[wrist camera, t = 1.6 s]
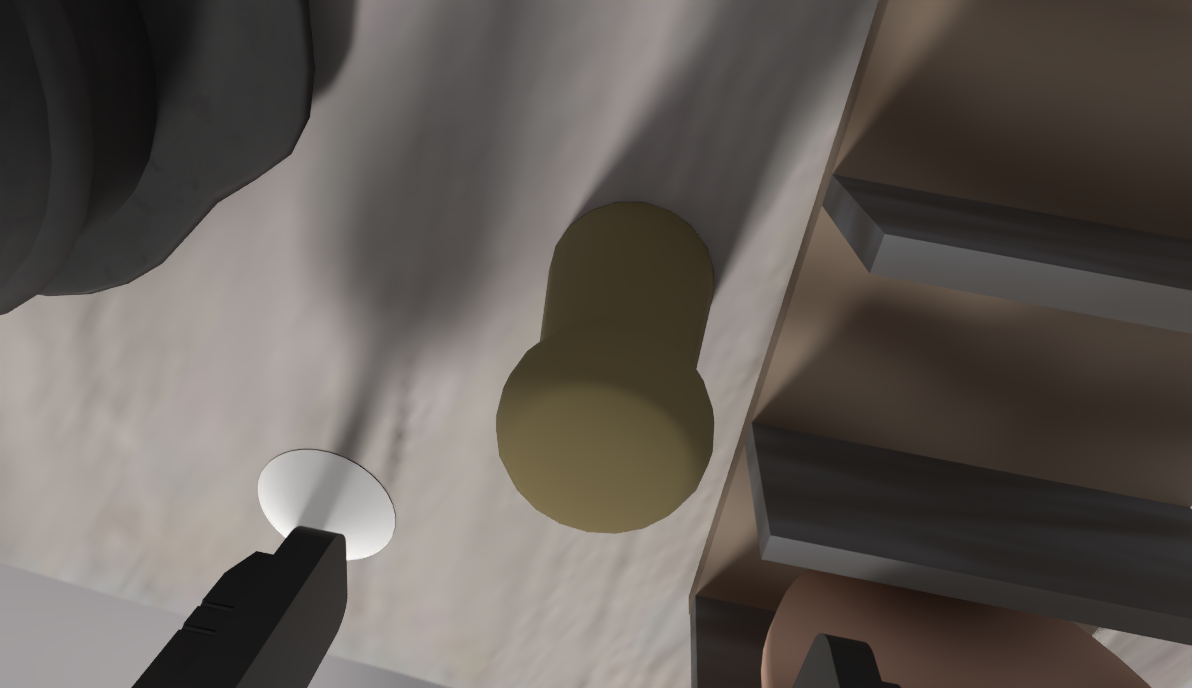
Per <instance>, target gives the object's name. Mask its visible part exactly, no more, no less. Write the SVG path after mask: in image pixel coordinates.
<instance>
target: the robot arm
mask: <svg viewBox="0 0 1192 688" xmlns="http://www.w3.org/2000/svg"><path fill="white" fill-rule="evenodd" d="M346 604H347V561H346V539H345V536H344V535H343V534H340V533H335V532H330V531H325V530H320V529H315V528H310V527H305V526H297V527H296V528H294V529H293V530H292V531H291V532H290V534H289V535H288V536H287V537H286V539H285V540H284V541H283V543H282V544H281V545H280V547H279V548H278V549H277V551H276V552H275V553H274V555H273V554H268V553H263V552H258V551H256V552H255V553H253V554H252V555H250V556H249V557H247V558H246V559H244V560H243V561H241V562H240V563H238V564H237V565H235V566H234V567H232V568H231V569H229V570H228V571H226V572H225V573H224V574H223V576H222V577H221V578H220V579H219V580H218V582H217V583H216V584H215V585H214V587H213V588H212V589H211V590H210V592H209V593H208V594H207V595H206V596H205V598H204V599H203V600H202V604H201V606H197V608H196V609H195V610H194V611H193V613H192V614H191V615H190V616H189V617H188V619H187V620H186V621H185V623H184V625H183V628H182V629H181V630H178V631H177V632H176V634H175V635H174V636H173V637H172V639H171V640H170V641H169V642H168V643H167V645H166V646H165V647H164V648H163V650H162V651H161V652H160V653H159V655H158V656H157V657H156V658H155V659H154V661H153V662H152V663H151V664H150V666H149V667H148V668H147V669H146V671H145V672H144V673H143V674H142V675H141V677H140V678H139V679H138V680H137V682H136V683H135V684H134V685H133V686H132V688H307V687H308V685H309V683H310V681H311V680H312V678H313V676H314V674H315V672H316V671H317V669H318V667H319V665H320V663H321V661H322V659H323V658H324V656H325V654H326V652H327V651H328V649H329V647H330V645H331V643H332V642H333V640H334V638H335V636H336V634H337V632H338V630H339V627H340V625H341V622H342V619H343V616H344V613H345V609H346ZM792 688H901V687H900V685H899V684H894V683H889V682H884V681H882V680H881V676H880V673H879V670H878V667H877V663H876V660H875V657H874V654H873V651H872V649H871V647H870V646H869V644H868V643H866V642H863V641H858V640H853V639H848V638H843V637H838V636H833V635H828V634H824V633H819V634H818V635H817V636H816V637H815V639H814V641H813V643H812V645H811V647H810V649H809V652H808V654H807V656H806V658H805V660H804V662H803V665H802V667H801V669H800V671H799V673H798V676H797V678H796V680H795V682H794V684H793V686H792Z"/></svg>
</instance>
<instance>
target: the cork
mask: <svg viewBox="0 0 1192 688" xmlns="http://www.w3.org/2000/svg"><path fill="white" fill-rule="evenodd" d="M713 284H714V270H713V266H712V263H711V259H710V256H709V253H708V249H707V247H706V245H705V244H704V243H703V241H702V240H701V239H700V237H699V236H698V234H697V233H696V232H695V230H694V229H693V227H692V226H691V225H689V224H688V223H686V222H685V221H684V220H682V219H681V218H679V217H678V216H677V215H675V214H674V213H672V212H671V211H670V210H666V209H663V208H660V207H657V206H654V205H651V204H648V203H644V202H615V203H612V204H609V205H606V206H603V207H600V208H597V209H594V210H591V211H589V212H588V213H587V214H585V215H584V216H583V217H581V218H580V219H579V220H577V221H576V222H575V223H573V224H572V225H570V226H569V228H568V229H567V231H566V232H565V234H564V235H563V237H562V238H561V239H560V241H559V242H558V244H557V245H556V247H555V251H554V254H553V258H552V262H551V265H550V269H549V276H548V283H547V291H546V298H545V306H544V314H543V321H542V329H541V337H540V342H539V343H537V344H536V345H535V346H533V347H532V348H531V349H530V350H528V351H527V352H526V354H525V355H524V356H523V358H522V359H521V360H520V362H519V363H518V364H517V366H516V367H515V369H514V370H513V371H512V373H511V374H510V376H509V378H508V380H507V382H506V384H505V386H504V388H503V392H502V396H501V399H500V403H499V407H498V411H497V415H496V432H497V440H498V448H499V456H500V458H501V460H502V462H503V464H504V466H505V468H506V470H507V472H508V474H509V476H510V478H511V480H512V482H513V483H514V485H515V487H516V488H517V490H518V491H519V492H520V493H521V494H522V495H523V496H524V497H525V498H526V499H527V500H528V502H529V503H530V504H531V505H532V506H533V507H534V508H535V509H536V510H538V511H540V512H541V513H543V514H545V515H546V516H548V517H550V518H551V519H553V520H555V521H557V522H558V523H560V524H563V525H566V526H570V527H573V528H576V529H579V530H583V531H586V532H597V533H615V534H616V533H622V532H627V531H632V530H637V529H642V528H645V527H647V526H649V525H651V524H653V523H655V522H657V521H659V520H661V519H663V518H665V517H667V516H669V515H670V514H671V513H672V512H674V511H675V510H676V509H677V508H678V507H679V506H680V505H681V504H682V503H683V502H684V501H685V500H686V499H687V498H688V497H689V496H690V495H691V494H692V493H694V492H695V491H696V489H697V487H698V485H699V483H700V481H701V479H702V476H703V474H704V472H705V470H706V468H707V466H708V463H709V460H710V458H711V455H712V452H713V436H714V416H713V408H712V405H711V402H710V399H709V396H708V393H707V390H706V387H705V384H704V381H703V379H702V378H701V376H700V374H699V373H698V371H697V370H696V368H697V363H698V359H699V355H700V350H701V346H702V341H703V337H704V333H705V328H706V324H707V320H708V315H709V311H710V306H711V302H712V298H713Z"/></svg>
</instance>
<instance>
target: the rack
mask: <svg viewBox="0 0 1192 688" xmlns="http://www.w3.org/2000/svg"><path fill="white" fill-rule="evenodd" d="M1191 505H1192V0H879V2H878V5H877V8H876V11H875V15H874V18H873V21H872V24H871V27H870V30H869V33H868V36H867V40H866V43H865V46H864V49H863V52H862V55H861V58H860V62H859V65H858V68H857V71H856V74H855V77H854V80H853V83H852V87H851V90H850V93H849V96H848V99H847V102H846V105H845V109H844V112H843V115H842V118H841V121H840V124H839V127H838V131H837V134H836V137H835V140H834V143H833V146H832V149H831V152H830V156H829V159H828V162H827V165H826V168H825V171H824V174H823V178H822V181H821V184H820V187H819V190H818V193H817V196H816V200H815V203H814V206H813V209H812V212H811V215H810V218H809V221H808V225H807V228H806V231H805V234H804V237H803V240H802V243H801V247H800V250H799V253H798V256H797V259H796V262H795V265H794V269H793V272H792V275H791V278H790V281H789V284H788V287H787V290H786V294H785V297H784V300H783V303H782V306H781V309H780V312H779V316H778V319H777V322H776V325H775V328H774V331H773V334H772V338H771V341H770V344H769V347H768V350H767V353H766V356H765V359H764V363H763V366H762V369H761V372H760V375H759V378H758V381H757V385H756V388H755V391H754V394H753V397H752V400H751V403H750V407H749V410H748V413H747V416H746V419H745V422H744V425H743V428H742V432H741V435H740V438H739V441H738V444H737V447H736V450H735V454H734V457H733V460H732V463H731V466H730V469H729V472H728V476H727V479H726V482H725V485H724V488H723V491H722V494H721V497H720V501H719V504H718V507H717V510H716V513H715V516H714V519H713V523H712V526H711V529H710V532H709V535H708V538H707V541H706V545H705V548H704V551H703V554H702V557H701V560H700V563H699V566H698V570H697V573H696V576H695V579H694V582H693V585H692V588H691V592H690V595H689V614H690V624H691V687H692V688H792V686H793V684H794V682H795V680H796V678H797V676H798V673H799V671H800V669H801V667H802V665H803V662H804V660H805V658H806V656H807V654H808V652H809V649H810V647H811V645H812V643H813V641H814V639H815V637H816V636H817V635H818V634H819V633H824V634H828V635H833V636H838V637H843V638H848V639H853V640H858V641H863V642H866V643H868V644H869V646H870V647H871V649H872V651H873V654H874V657H875V660H876V663H877V667H878V670H879V673H880V676H881V680H882V681H884V682H889V683H894V684H899V685H900V687H901V688H1151V687H1150V686H1149V685H1148V684H1147V683H1146V682H1145V681H1144V680H1143V679H1142V678H1141V677H1140V676H1138V675H1137V674H1136V673H1135V672H1134V671H1133V670H1132V669H1131V668H1130V667H1128V666H1127V665H1126V664H1125V663H1124V662H1123V661H1122V660H1121V659H1120V658H1118V657H1117V656H1116V655H1115V654H1113V653H1112V652H1111V651H1110V650H1108V649H1107V648H1106V647H1105V646H1103V645H1102V644H1101V643H1100V642H1098V641H1097V640H1096V639H1095V638H1093V637H1092V634H1093V633H1094V632H1095V631H1096V629H1097V628H1098V627H1102V628H1107V629H1112V630H1117V631H1122V632H1127V633H1132V634H1137V635H1142V636H1147V637H1152V638H1157V639H1162V640H1167V641H1172V642H1177V643H1182V644H1187V645H1192V509H1191V508H1190V507H1191Z"/></svg>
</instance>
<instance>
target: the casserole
mask: <svg viewBox="0 0 1192 688" xmlns="http://www.w3.org/2000/svg"><path fill="white" fill-rule="evenodd" d="M314 71H315V65H314V55H313V44H312V34H311V24H310V13H309V4H308V0H0V315H3V314H6V313H9V312H10V311H12V310H13V309H15V308H17V307H18V306H20V305H21V304H23V303H25V302H26V301H28V300H29V299H31V298H33V297H34V296H36V295H37V294H38V295H45V296H59V295H81V294H93V293H96V292H100V291H103V290H107V289H110V288H114V287H117V286H121V285H124V284H128V283H130V282H132V281H133V280H135V279H137V278H139V277H140V276H142V275H144V274H145V273H147V272H149V271H150V270H152V269H154V268H155V267H157V266H159V265H160V264H162V263H163V262H164V261H165V260H166V259H167V258H168V257H169V256H170V255H171V253H172V252H173V251H174V250H175V249H176V248H177V247H178V246H179V245H180V244H181V243H182V242H183V240H184V239H185V238H186V237H187V236H188V235H189V234H190V233H191V232H192V231H193V230H194V228H195V227H196V226H197V225H198V224H199V223H200V222H201V221H202V220H203V218H204V217H205V216H206V215H207V214H208V213H209V212H210V211H211V210H212V209H213V207H214V206H215V205H216V204H217V203H218V202H220V201H222V200H223V199H225V198H226V197H228V196H230V195H231V194H233V193H235V192H236V191H238V190H240V189H241V188H243V187H244V186H246V185H248V184H249V183H251V182H253V181H254V180H256V179H257V178H259V177H260V176H261V175H263V174H264V173H266V172H267V171H268V170H270V169H271V168H273V167H274V166H275V165H277V164H278V163H280V162H281V161H282V160H284V159H285V158H287V157H288V156H289V155H291V154H292V152H293V150H294V148H295V146H296V144H297V142H298V140H299V138H300V136H301V134H302V132H303V130H304V128H305V126H306V124H307V122H308V120H309V118H310V111H311V101H312V91H313V81H314Z"/></svg>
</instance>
